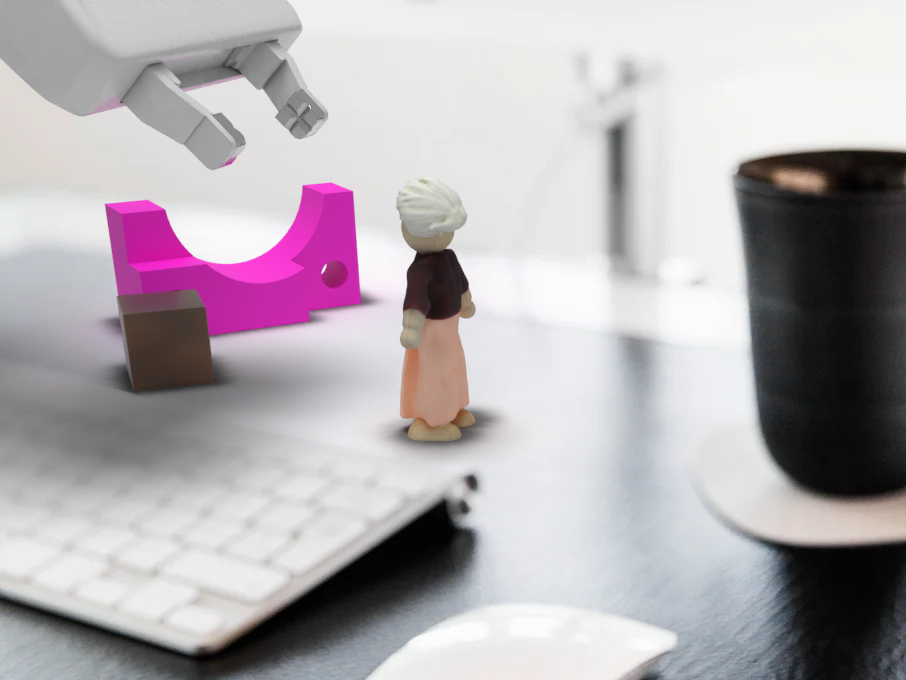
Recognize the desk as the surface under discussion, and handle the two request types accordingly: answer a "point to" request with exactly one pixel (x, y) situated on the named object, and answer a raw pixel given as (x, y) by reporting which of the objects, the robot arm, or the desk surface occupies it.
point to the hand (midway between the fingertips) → (276, 142)
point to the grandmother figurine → (433, 313)
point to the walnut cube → (165, 339)
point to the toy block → (245, 263)
